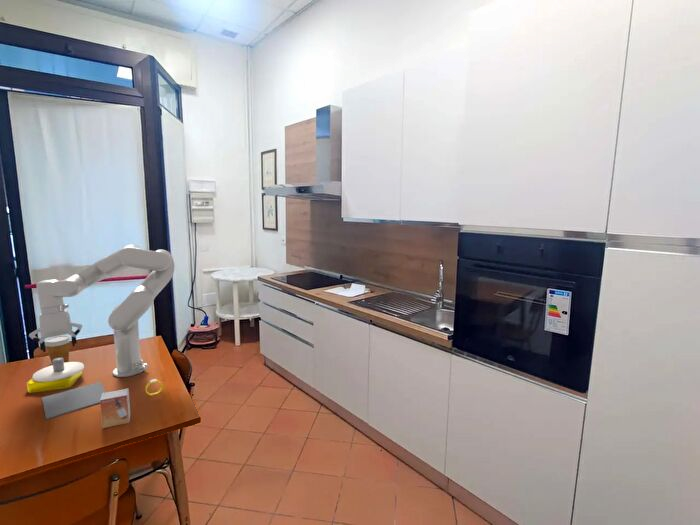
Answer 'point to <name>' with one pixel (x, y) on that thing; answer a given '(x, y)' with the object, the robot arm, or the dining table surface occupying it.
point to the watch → (153, 383)
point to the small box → (115, 408)
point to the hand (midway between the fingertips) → (59, 348)
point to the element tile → (52, 384)
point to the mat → (72, 400)
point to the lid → (58, 370)
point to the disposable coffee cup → (58, 347)
